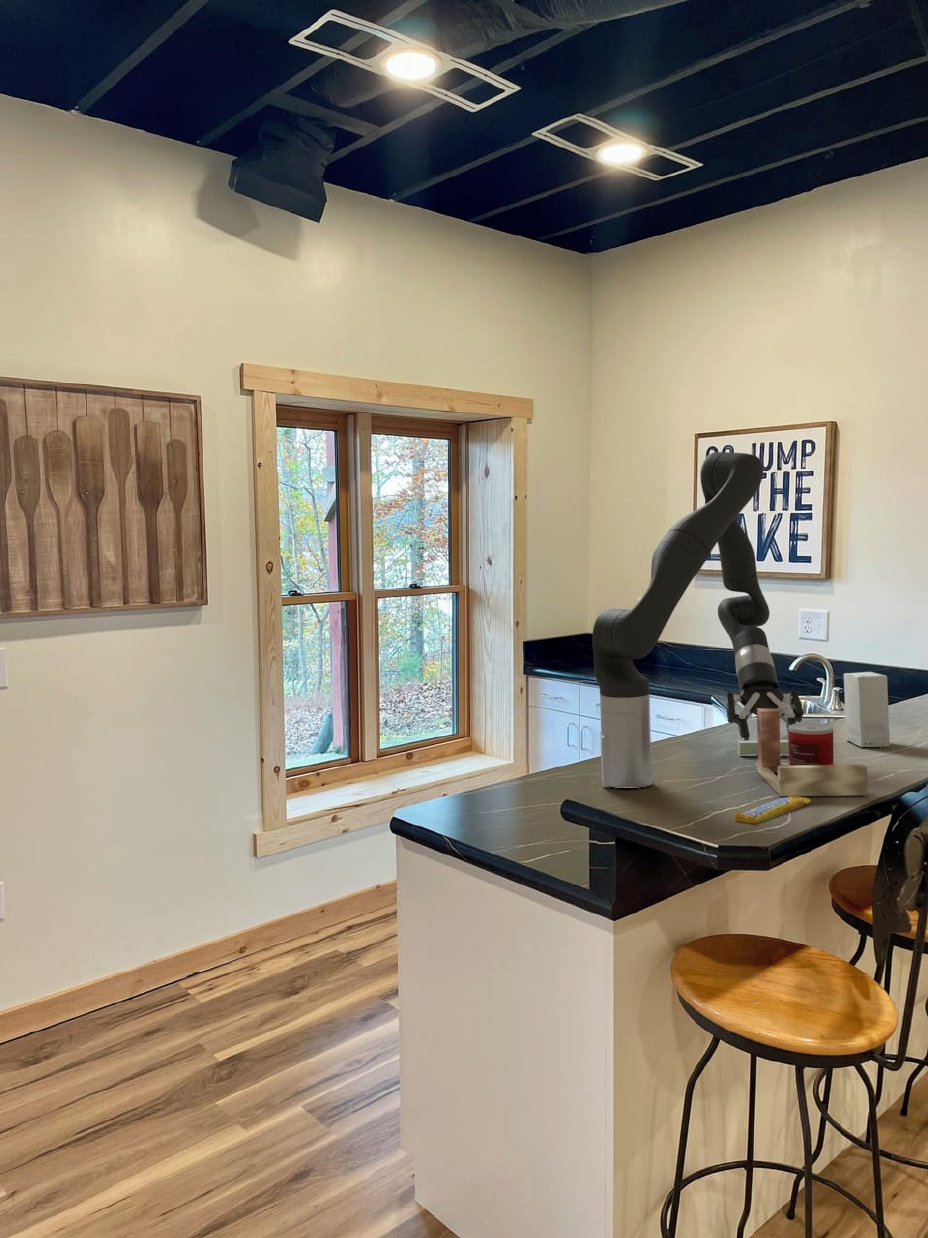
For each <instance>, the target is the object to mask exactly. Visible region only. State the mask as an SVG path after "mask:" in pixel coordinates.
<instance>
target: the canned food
mask: <svg viewBox="0 0 928 1238" xmlns="http://www.w3.org/2000/svg"><path fill="white" fill-rule="evenodd" d="M833 729H834V727H833V726H832V725H828V724H826V723H817V722H796V724H792V725H790V726H789V728H788V731H787V735H788V737H787V740H788V751H789V756H788V763H789V766H800V765H834V764H835V762H834V730H833Z"/></svg>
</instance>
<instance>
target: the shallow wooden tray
mask: <svg viewBox="0 0 928 1238" xmlns="http://www.w3.org/2000/svg"><path fill="white" fill-rule="evenodd" d="M780 721H781V719H780V711H779V709H778V710H777V709H776V708H757V715H756V724H757V725H756V726H757V727H756V731H757V733H756V734H757V740H756V741H758V757H757V763H756V764H755V770H756V771H757V772H758V774H759V775H760V776H761V777H762V778H763V779H764V780H765V781H766V782H767V783H768V785H770V786H771V788H772V789H773V790H774V791H775V792H776V794H778V796H780V797H789V796H798V797H810V796H811V797H813V796H814V797H821V796H822V797H824V796H828V797H829V796H830V797H831V796H837V797H838V796H839V797H840V796H868V766H867V765H866V764H837V763H834V765H800V766H789V762H786V763H785V762H783V763H782V762H781V756H780V740H781V726H780V725H781V722H780ZM775 773H777V775H776V774H775Z"/></svg>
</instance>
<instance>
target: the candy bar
mask: <svg viewBox="0 0 928 1238" xmlns="http://www.w3.org/2000/svg"><path fill="white" fill-rule="evenodd" d="M810 802H812V801H811V799H810V798H809V797H804V796H783V797H781V798H779V799H776V800H773V801H770V802H767V803H764V804H762V805H760V806H757V807H755V808H751V809H749V810H747V811H744V812H742V813H740V812H739V811H736V813H735V814H734V817H733V818H734V819H735V820H736V821H737V822H741V823H746V824H747V823H748V824H752V825H755V824H758V823H761V822H765V821H766V820H767V821H768V819H769V820H770V819H772V818H775V817H777V816H780V815H783V814H786V813H789V812H791V811H794V810H796V809H800V808H801V807H803V806H804V805H805V804H809V803H810Z"/></svg>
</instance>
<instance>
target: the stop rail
mask: <svg viewBox="0 0 928 1238" xmlns="http://www.w3.org/2000/svg"><path fill="white" fill-rule="evenodd" d="M738 754H739V755H747V754H758V740H748V741H744V740H737V755H738ZM780 754H789V751H788V739H782V740H781V739H780ZM739 755H738V756H739Z"/></svg>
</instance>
